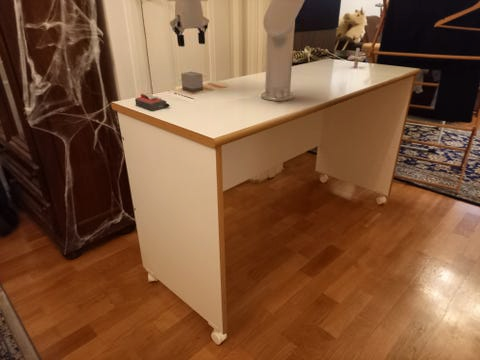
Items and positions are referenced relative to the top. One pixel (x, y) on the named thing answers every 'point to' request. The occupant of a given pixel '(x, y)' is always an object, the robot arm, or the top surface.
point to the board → (206, 88)
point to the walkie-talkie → (151, 102)
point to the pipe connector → (357, 57)
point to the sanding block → (192, 82)
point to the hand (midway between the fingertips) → (191, 45)
